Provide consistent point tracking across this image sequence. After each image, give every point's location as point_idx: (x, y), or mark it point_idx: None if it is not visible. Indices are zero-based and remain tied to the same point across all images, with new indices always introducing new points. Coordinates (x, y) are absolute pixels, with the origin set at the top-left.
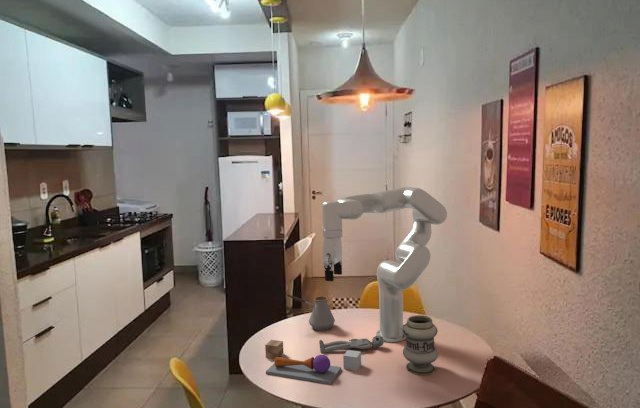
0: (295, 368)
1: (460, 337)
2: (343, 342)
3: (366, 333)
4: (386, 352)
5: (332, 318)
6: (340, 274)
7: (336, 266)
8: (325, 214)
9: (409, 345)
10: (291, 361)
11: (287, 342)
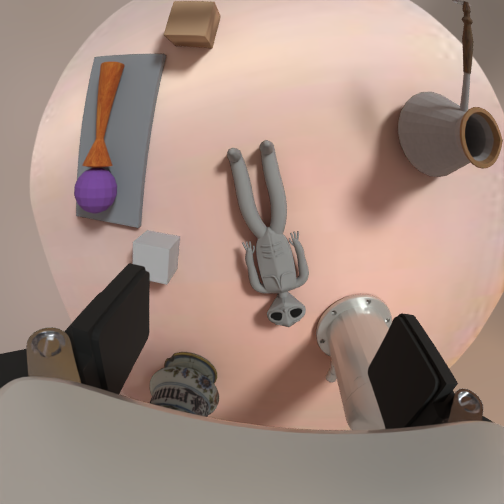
0: (111, 116)
1: (336, 422)
2: (272, 218)
3: (379, 267)
4: (256, 320)
5: (433, 171)
6: (370, 366)
7: (412, 395)
8: None
9: (156, 393)
10: (97, 108)
11: (296, 39)
